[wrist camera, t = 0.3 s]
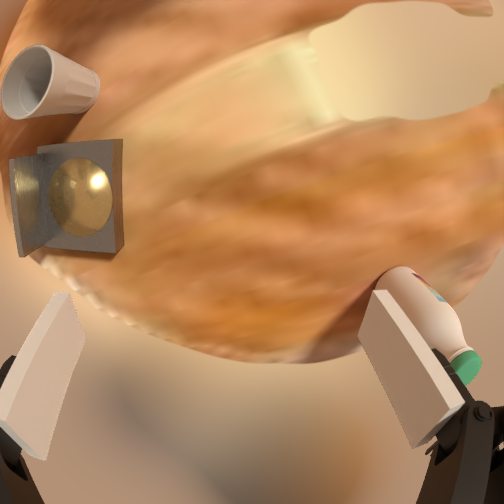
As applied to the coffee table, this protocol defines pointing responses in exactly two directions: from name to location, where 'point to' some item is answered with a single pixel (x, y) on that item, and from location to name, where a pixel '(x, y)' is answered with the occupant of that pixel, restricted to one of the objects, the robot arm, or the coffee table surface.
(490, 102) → the coffee table surface
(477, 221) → the coffee table surface
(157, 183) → the coffee table surface
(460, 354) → the milk bottle
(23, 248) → the grey holder block
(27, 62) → the cup
